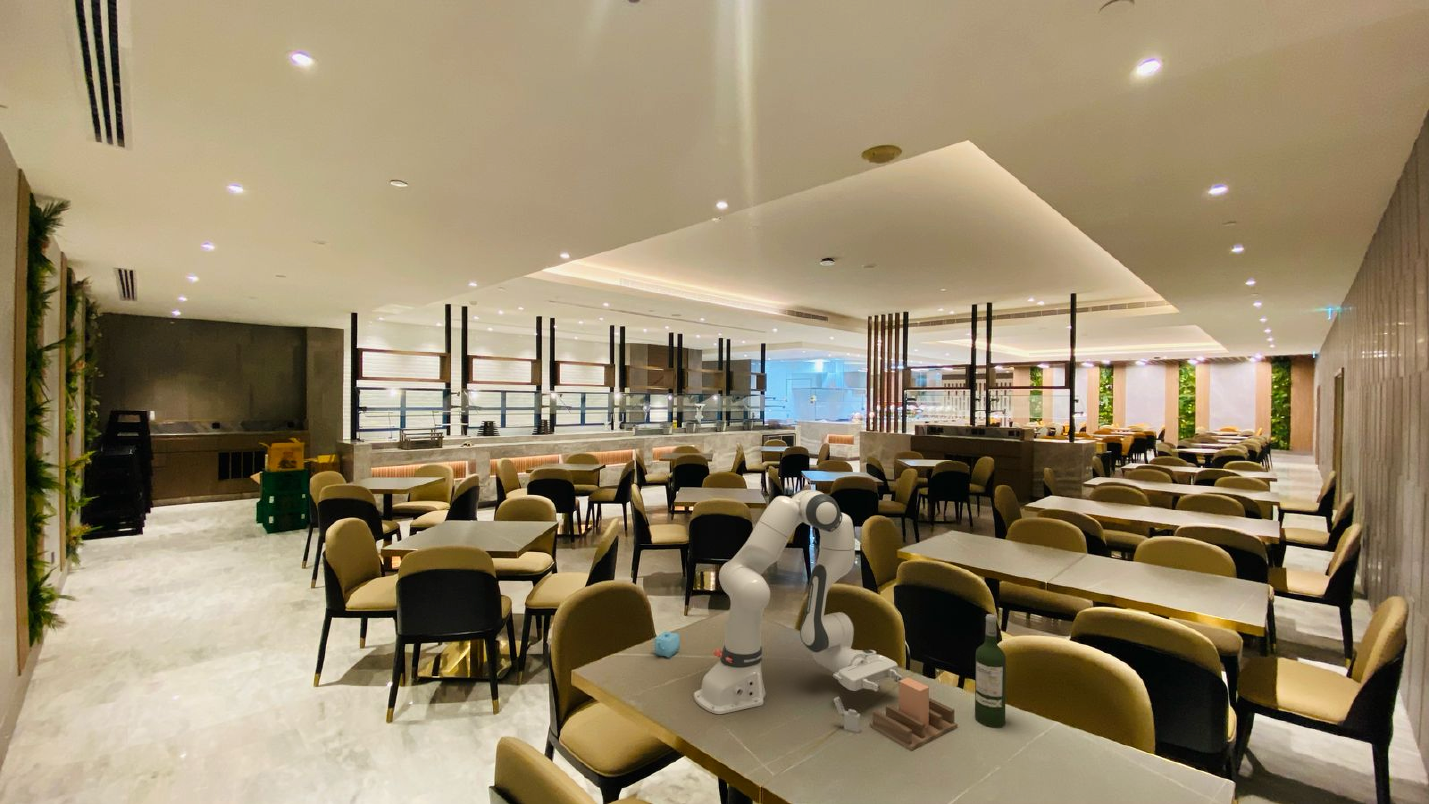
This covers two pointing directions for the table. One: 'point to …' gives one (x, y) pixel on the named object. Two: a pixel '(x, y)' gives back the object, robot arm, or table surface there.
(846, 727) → the lighter
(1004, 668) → the wine bottle
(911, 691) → the salmon rectangular prism
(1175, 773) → the table surface
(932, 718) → the rack
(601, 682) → the table surface
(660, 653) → the light blue toy brick
